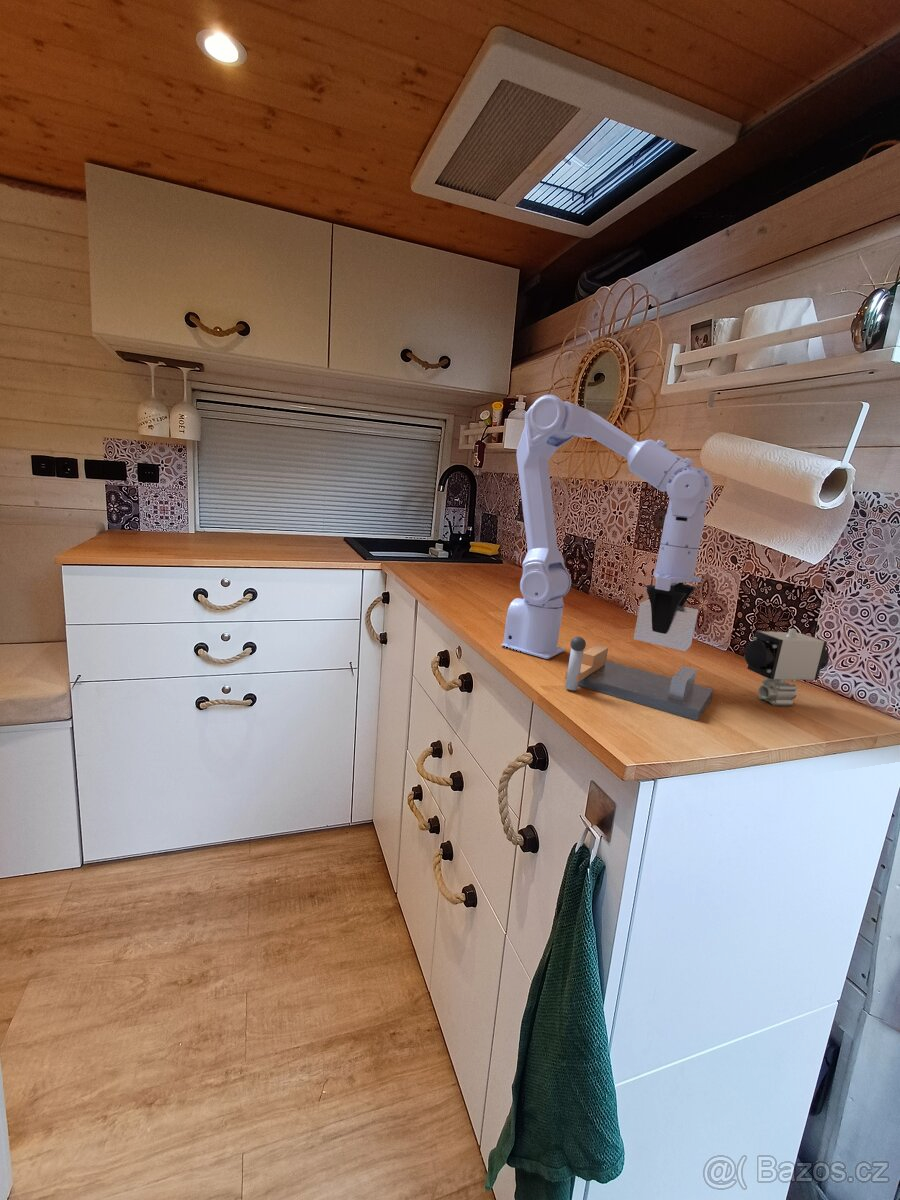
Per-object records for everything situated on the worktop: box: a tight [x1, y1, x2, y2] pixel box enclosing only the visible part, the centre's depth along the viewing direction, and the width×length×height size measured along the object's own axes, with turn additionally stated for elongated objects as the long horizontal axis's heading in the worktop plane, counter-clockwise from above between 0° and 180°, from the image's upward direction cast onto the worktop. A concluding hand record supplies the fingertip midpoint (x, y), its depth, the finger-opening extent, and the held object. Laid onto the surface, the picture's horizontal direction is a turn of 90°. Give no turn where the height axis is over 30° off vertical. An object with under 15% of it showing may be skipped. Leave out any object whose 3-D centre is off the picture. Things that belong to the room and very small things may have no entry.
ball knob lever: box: [564, 636, 609, 691], centre depth 87 cm, size 2×13×8 cm, turn 146°
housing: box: [633, 599, 699, 652], centre depth 90 cm, size 8×5×6 cm, turn 57°
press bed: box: [578, 660, 714, 722], centre depth 86 cm, size 19×12×4 cm, turn 56°
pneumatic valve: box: [744, 628, 830, 707], centre depth 87 cm, size 6×12×12 cm, turn 104°
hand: (663, 629), depth 90 cm, fingers closed on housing, 5 cm apart
